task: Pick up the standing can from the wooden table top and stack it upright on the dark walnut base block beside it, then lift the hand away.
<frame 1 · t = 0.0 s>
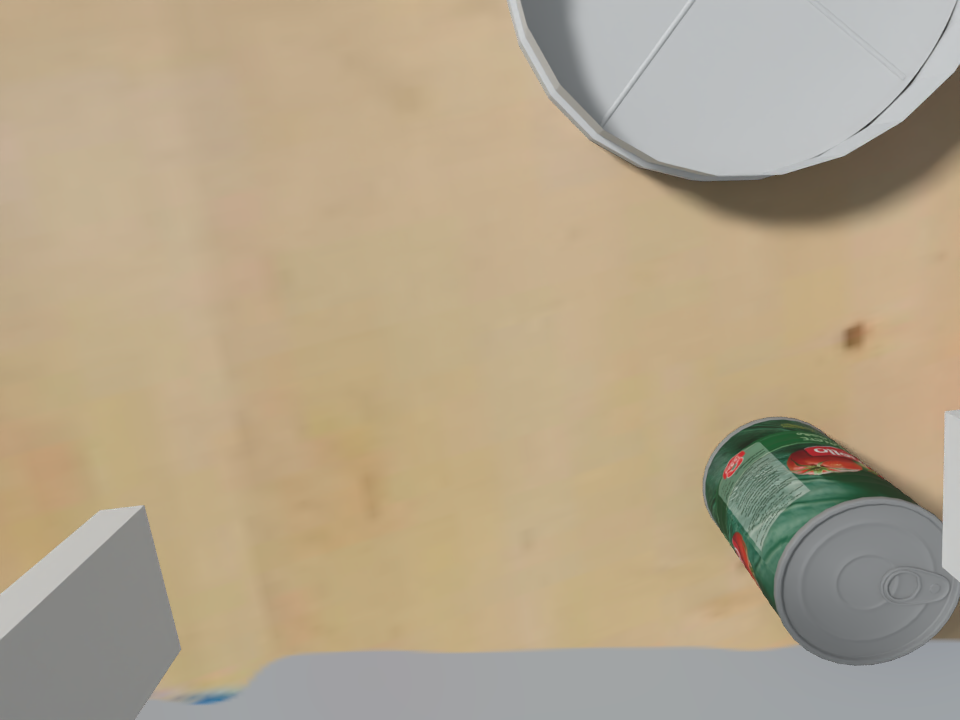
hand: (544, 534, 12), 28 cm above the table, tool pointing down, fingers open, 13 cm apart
canned tomato: (770, 480, 42), on the table
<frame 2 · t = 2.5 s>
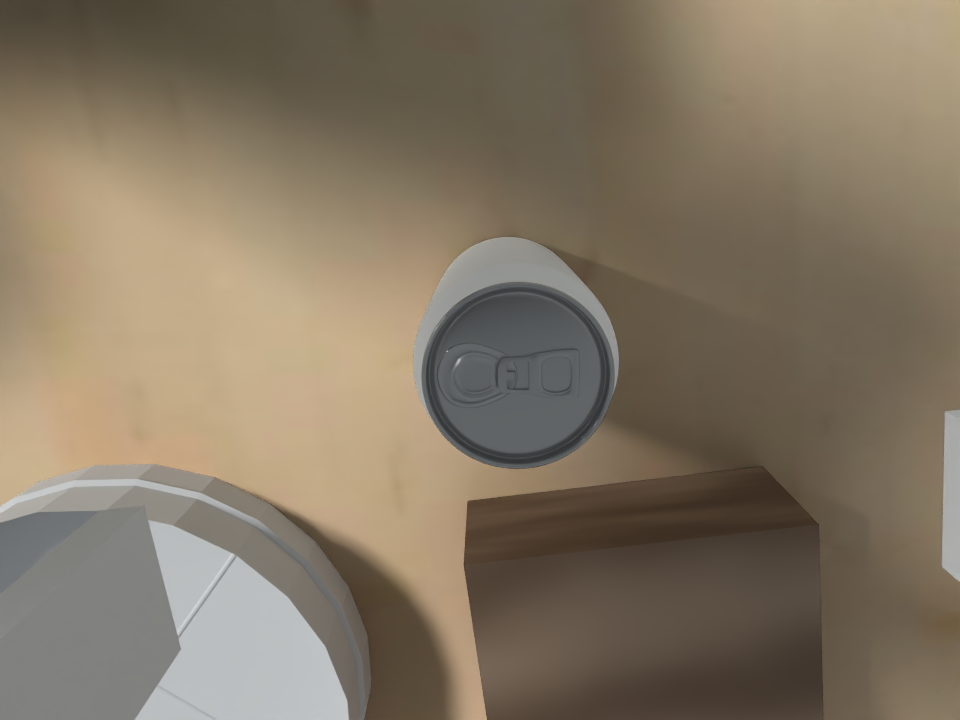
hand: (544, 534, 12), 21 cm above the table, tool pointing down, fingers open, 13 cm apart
can: (506, 307, 33), on the table
dish: (160, 659, 38), on the table
walnut base: (626, 614, 36), on the table
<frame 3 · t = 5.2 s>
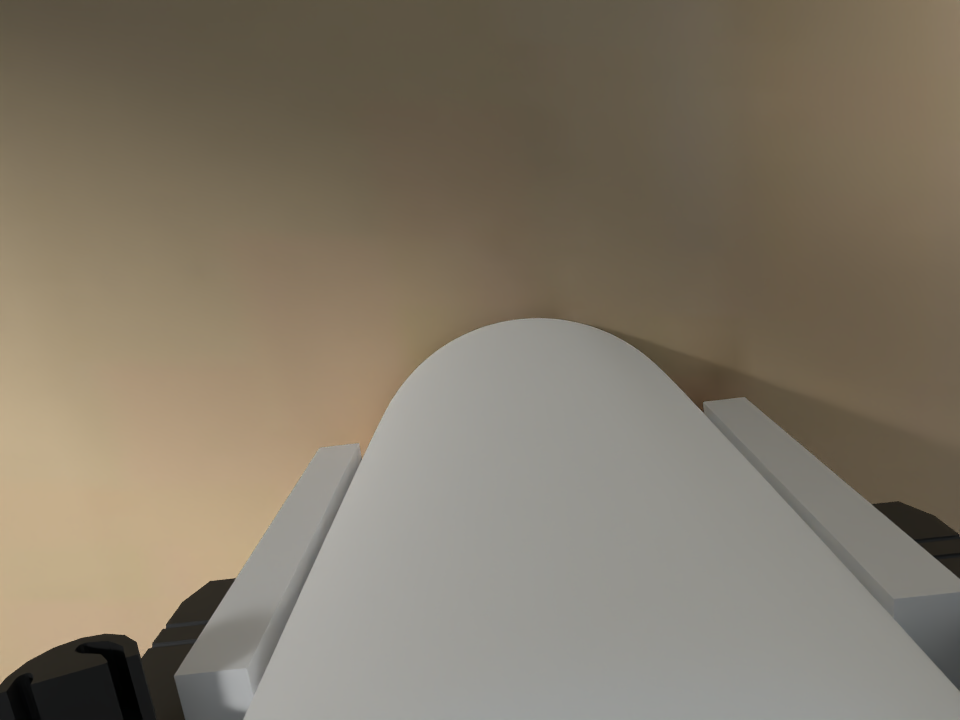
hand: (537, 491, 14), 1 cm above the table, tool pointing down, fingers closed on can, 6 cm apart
can: (533, 467, 15), on the table, touching gripper
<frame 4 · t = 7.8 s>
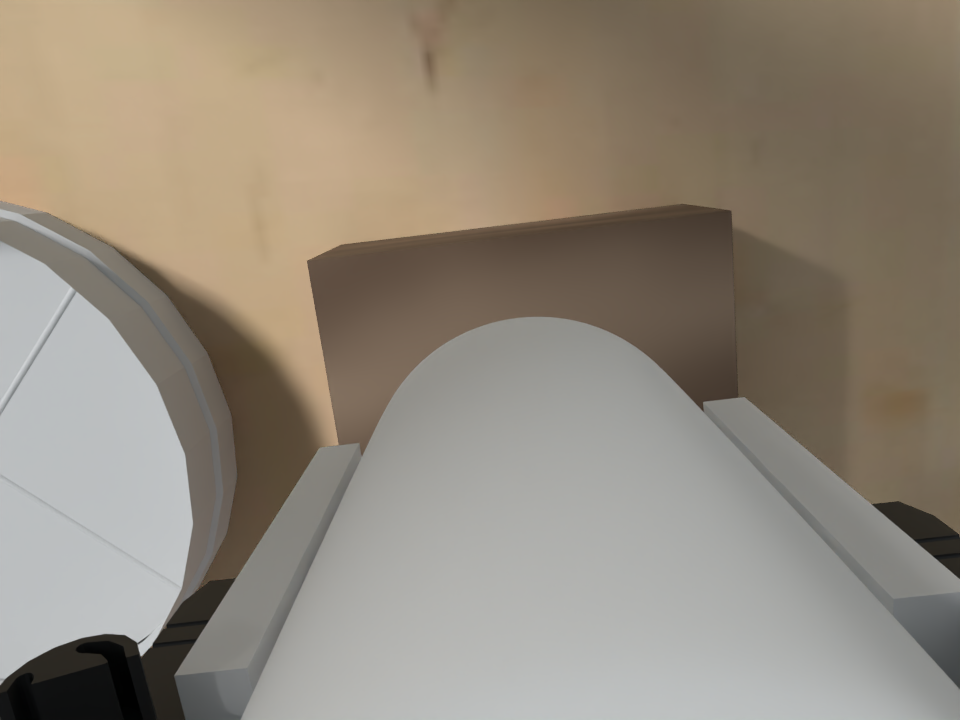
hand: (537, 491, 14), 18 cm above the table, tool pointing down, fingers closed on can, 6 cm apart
can: (533, 466, 15), point 16 cm above the table, touching gripper
walnut base: (528, 388, 32), on the table
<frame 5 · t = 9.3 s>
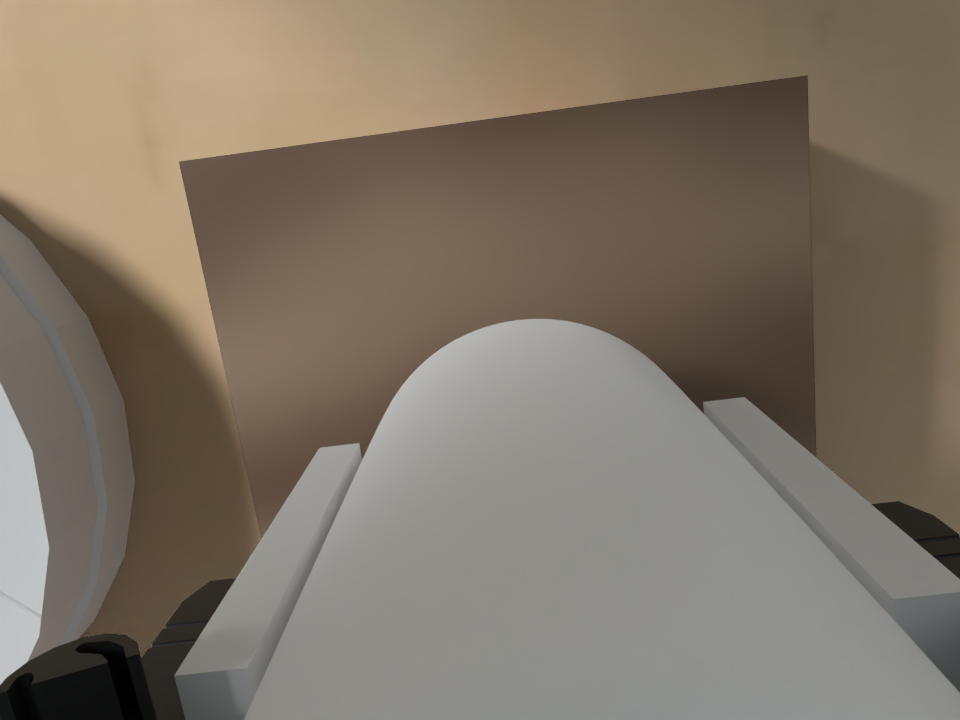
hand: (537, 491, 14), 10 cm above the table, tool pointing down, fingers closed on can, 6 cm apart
can: (534, 467, 15), point 9 cm above the table, touching gripper
walnut base: (515, 359, 24), on the table
when the fingers open (8 cm above the table, at t = 10.4 s): can drops 1 cm, resting on walnut base.
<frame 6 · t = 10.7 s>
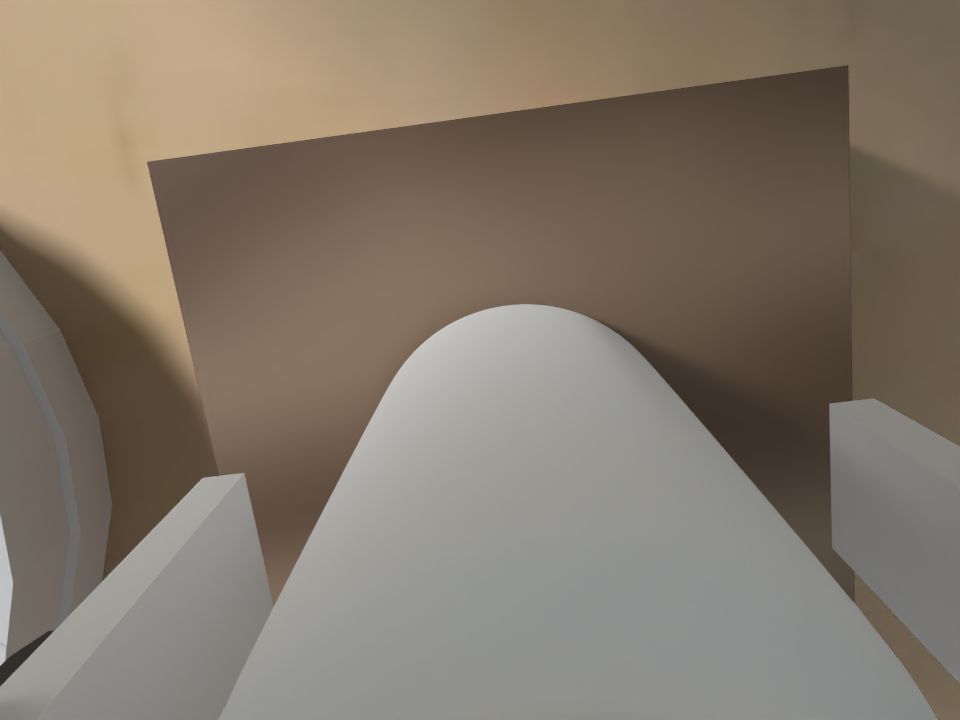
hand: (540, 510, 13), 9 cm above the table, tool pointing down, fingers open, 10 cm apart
can: (523, 441, 16), point 6 cm above the table, touching walnut base
walnut base: (519, 375, 22), on the table
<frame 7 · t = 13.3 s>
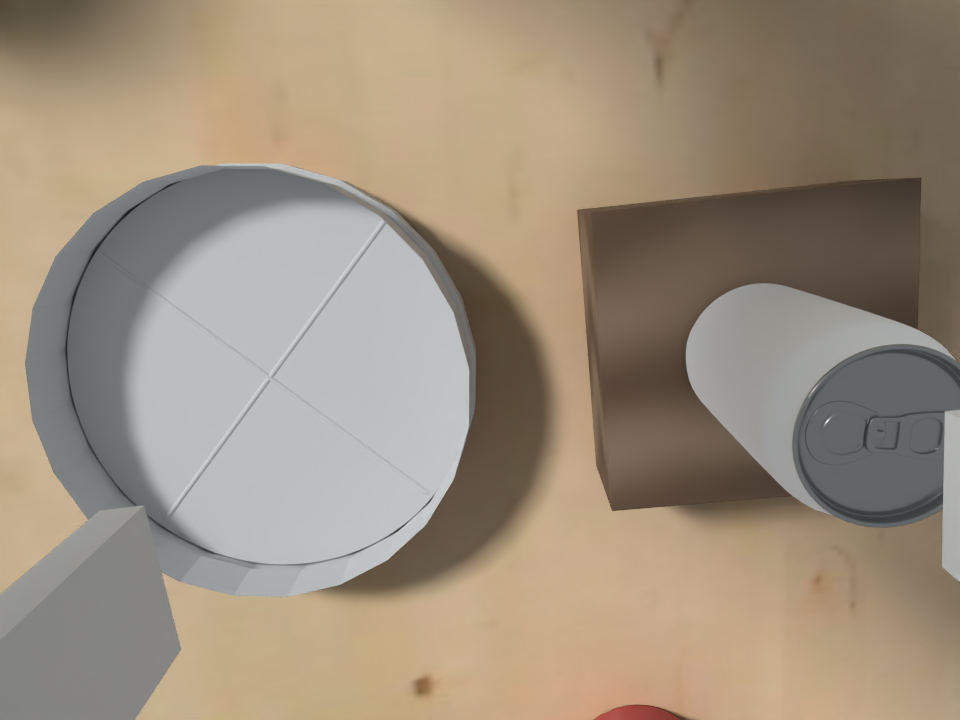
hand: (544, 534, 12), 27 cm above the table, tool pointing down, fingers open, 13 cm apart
can: (753, 352, 33), point 6 cm above the table, touching walnut base
dish: (278, 370, 41), on the table
walnut base: (719, 329, 39), on the table
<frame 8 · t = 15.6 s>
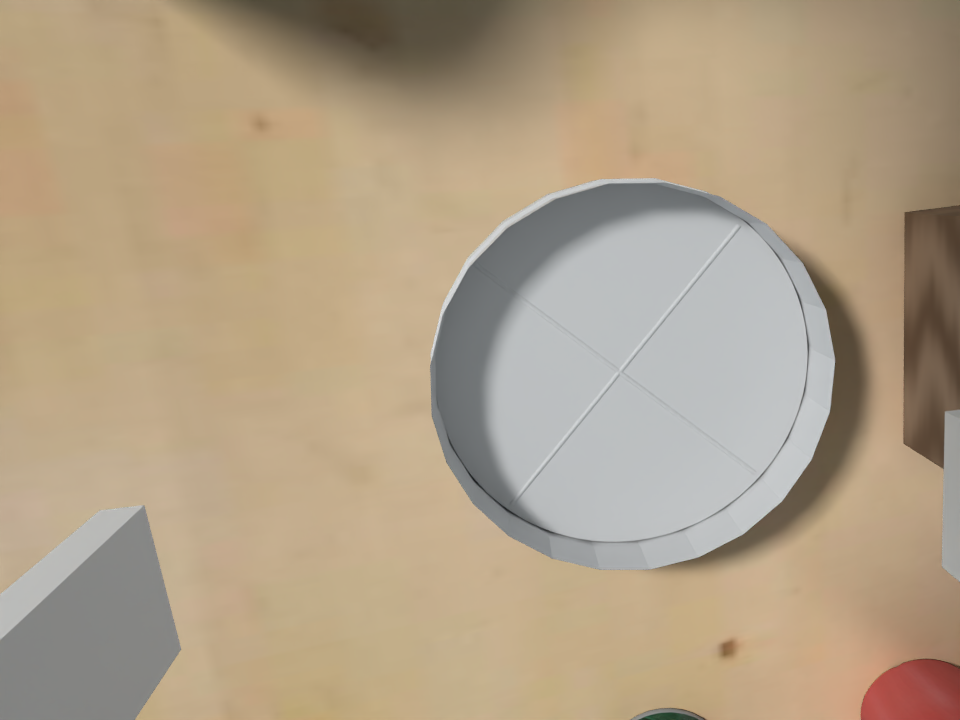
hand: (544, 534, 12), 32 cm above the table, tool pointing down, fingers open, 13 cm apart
flower pot: (915, 704, 50), on the table
dish: (615, 365, 45), on the table
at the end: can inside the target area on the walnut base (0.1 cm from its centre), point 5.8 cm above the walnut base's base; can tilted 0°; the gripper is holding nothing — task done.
